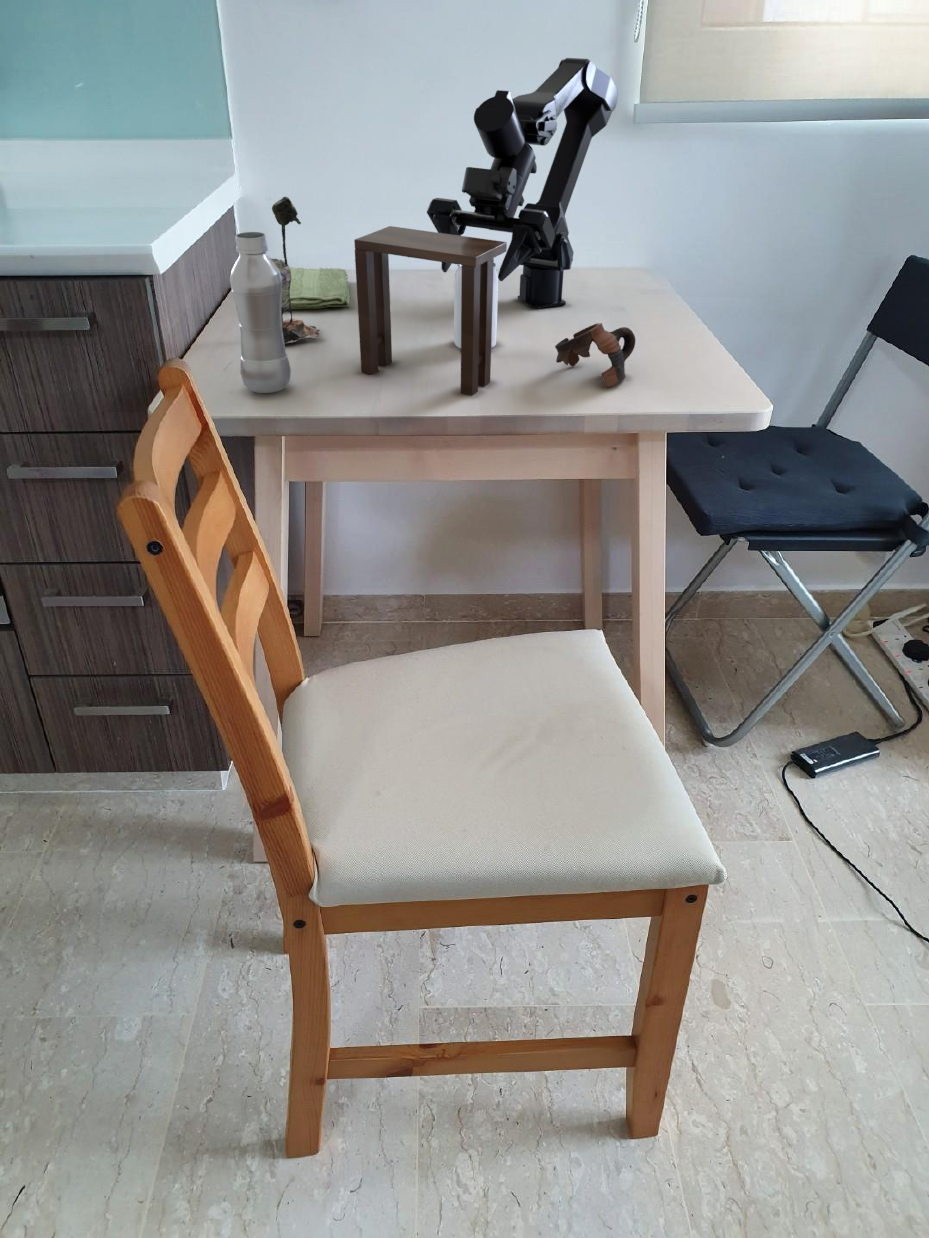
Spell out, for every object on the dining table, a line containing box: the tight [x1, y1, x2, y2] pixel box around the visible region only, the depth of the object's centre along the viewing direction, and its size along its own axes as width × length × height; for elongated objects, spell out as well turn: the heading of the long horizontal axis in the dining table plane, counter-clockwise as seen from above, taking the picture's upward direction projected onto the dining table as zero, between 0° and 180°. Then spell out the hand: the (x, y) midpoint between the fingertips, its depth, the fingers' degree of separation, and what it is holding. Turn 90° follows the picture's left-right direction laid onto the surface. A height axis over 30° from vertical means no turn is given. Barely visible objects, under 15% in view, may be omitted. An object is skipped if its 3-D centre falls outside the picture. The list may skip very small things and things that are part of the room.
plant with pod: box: [269, 196, 320, 344], centre depth 137 cm, size 8×11×20 cm
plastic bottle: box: [229, 231, 292, 394], centre depth 120 cm, size 6×7×20 cm
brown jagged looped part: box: [554, 322, 636, 389], centre depth 131 cm, size 12×10×8 cm
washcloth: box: [287, 266, 351, 311], centre depth 161 cm, size 13×18×3 cm
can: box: [453, 262, 499, 350], centre depth 138 cm, size 6×6×12 cm
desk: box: [354, 225, 508, 397], centre depth 127 cm, size 9×18×18 cm, turn 62°
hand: (471, 275), depth 134 cm, fingers open, 9 cm apart
